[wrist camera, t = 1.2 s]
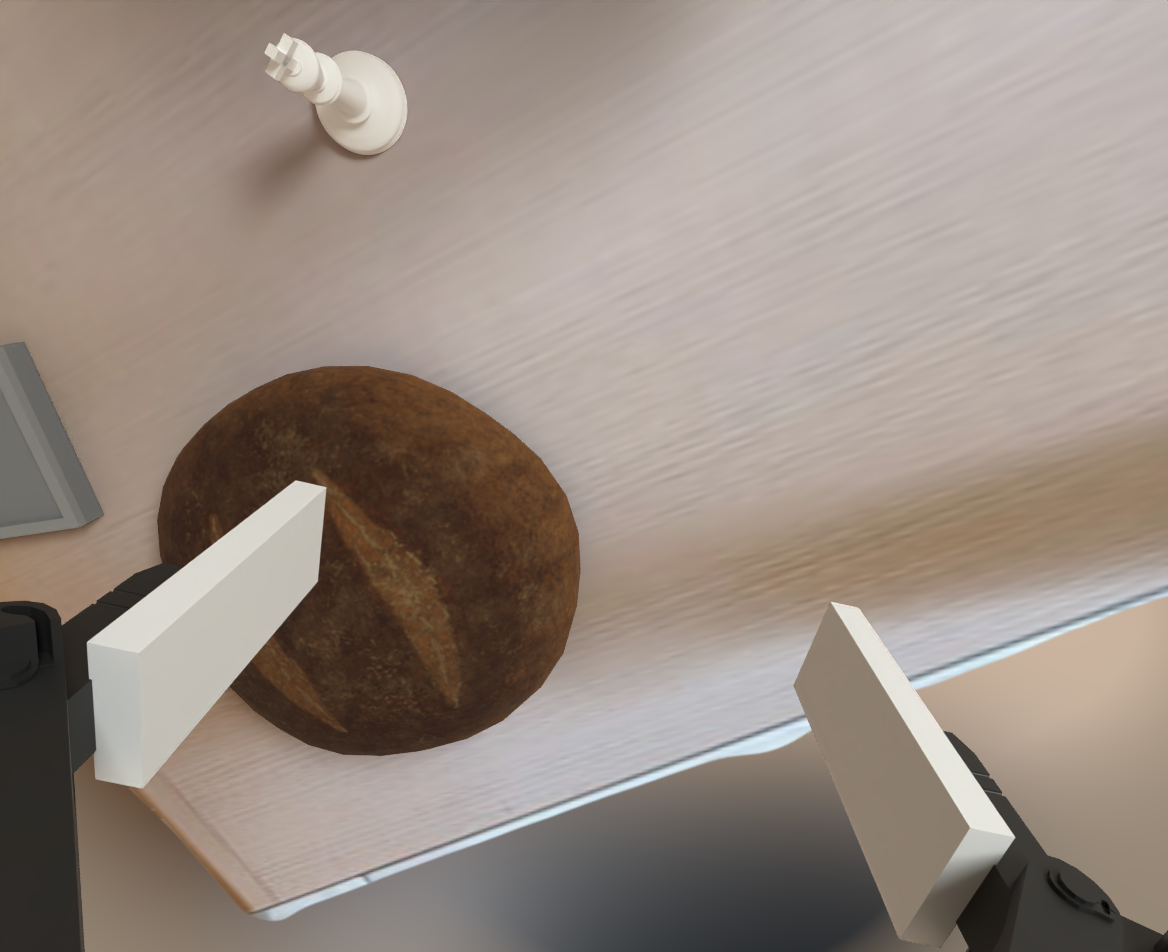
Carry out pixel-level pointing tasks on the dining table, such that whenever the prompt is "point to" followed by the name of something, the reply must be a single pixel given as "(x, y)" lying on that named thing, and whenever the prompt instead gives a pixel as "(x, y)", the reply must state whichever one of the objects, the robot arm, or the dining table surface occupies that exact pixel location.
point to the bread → (389, 556)
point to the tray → (36, 456)
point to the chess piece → (344, 93)
